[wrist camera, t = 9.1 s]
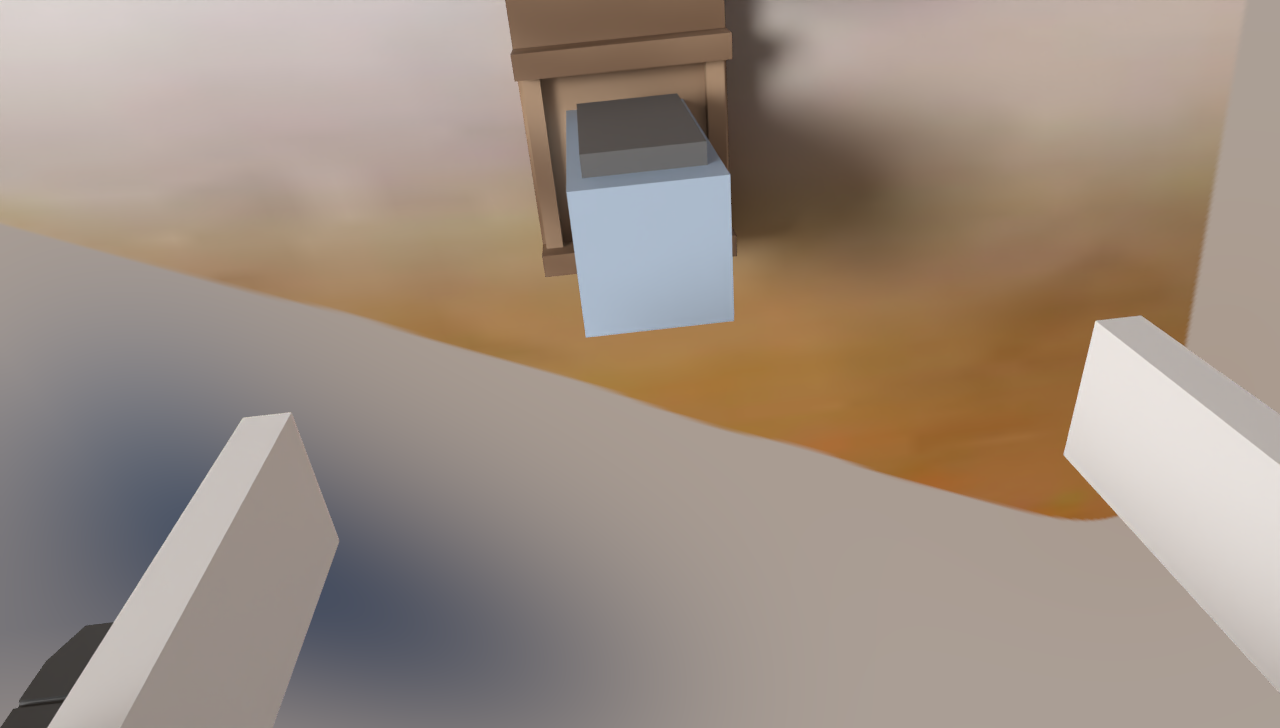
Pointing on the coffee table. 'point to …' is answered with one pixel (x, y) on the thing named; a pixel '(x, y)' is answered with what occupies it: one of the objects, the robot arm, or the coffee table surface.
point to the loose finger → (647, 216)
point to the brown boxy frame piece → (610, 81)
